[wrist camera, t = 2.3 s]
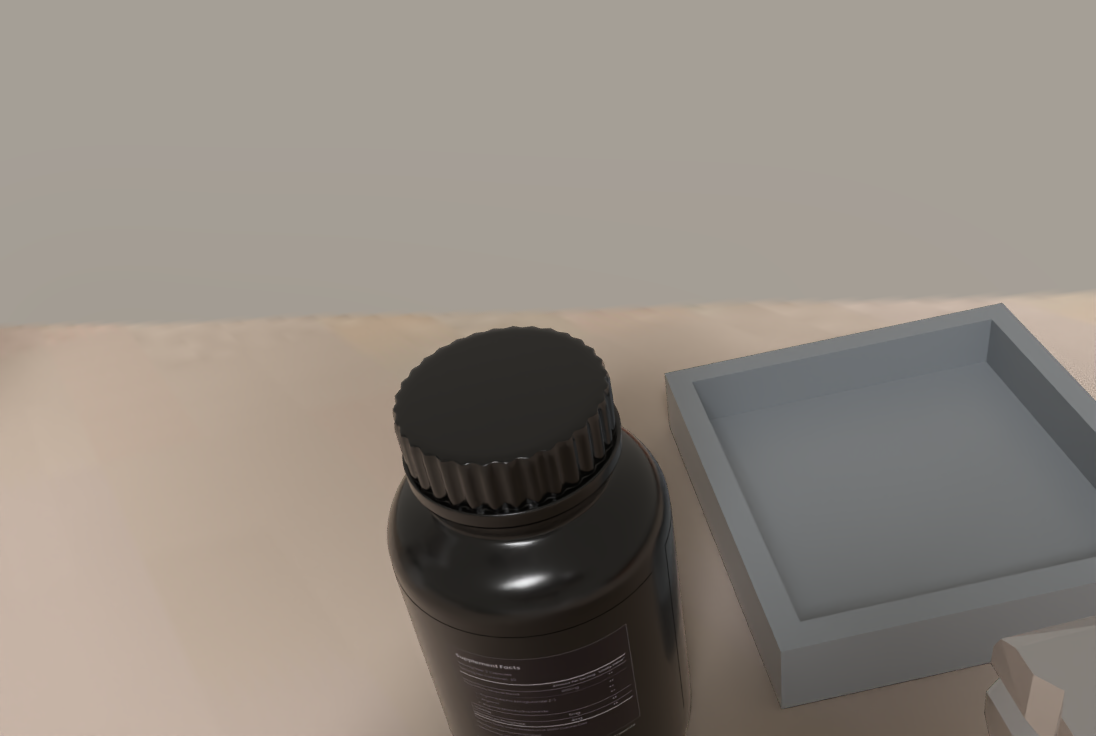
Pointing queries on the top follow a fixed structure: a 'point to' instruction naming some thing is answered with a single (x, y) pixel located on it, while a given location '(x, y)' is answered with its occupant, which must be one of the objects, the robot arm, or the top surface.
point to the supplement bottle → (536, 544)
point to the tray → (894, 496)
